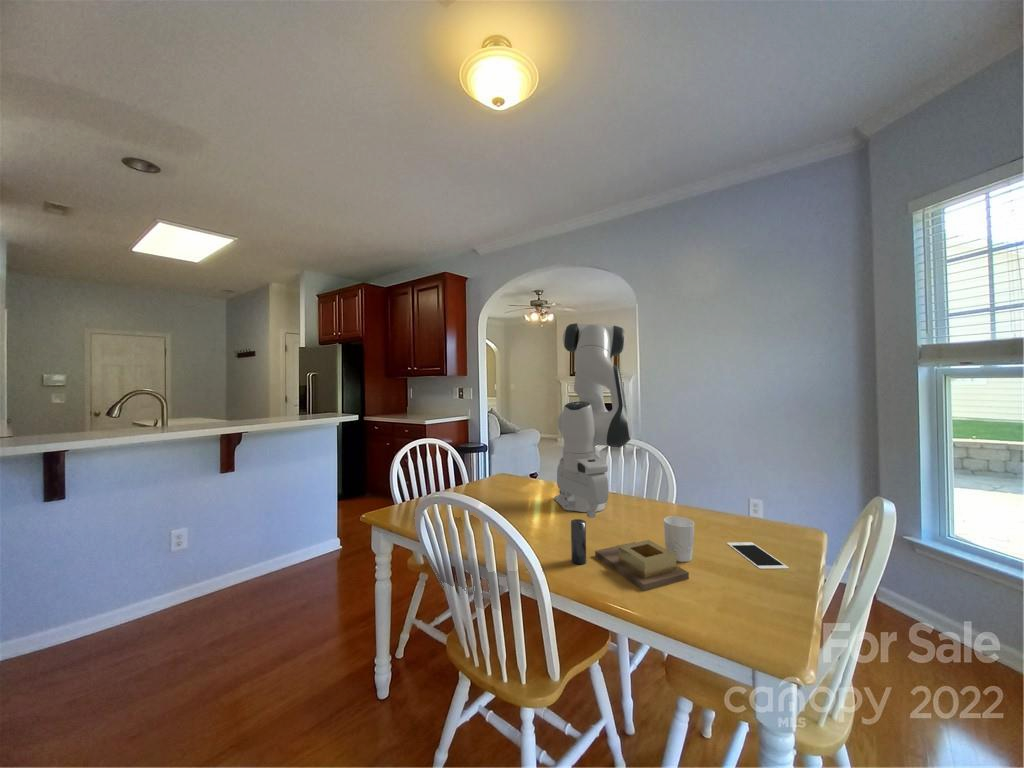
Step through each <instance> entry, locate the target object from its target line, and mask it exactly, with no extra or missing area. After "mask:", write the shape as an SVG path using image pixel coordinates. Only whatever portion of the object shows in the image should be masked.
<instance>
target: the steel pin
mask: <svg viewBox="0 0 1024 768" xmlns="http://www.w3.org/2000/svg"><path fill="white" fill-rule="evenodd" d="M570 542H571V543H570V544H571V546H570V547H571V548H570V549H571V553H570V554H571V556H570V557H571V558H570V559H571V563H572V564H574V565H575V566H576V565H577V566H583V565H586V564H587V522H586V520H584V519H572V520H570Z"/></svg>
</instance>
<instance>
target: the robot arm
mask: <svg viewBox="0 0 1024 768" xmlns="http://www.w3.org/2000/svg"><path fill="white" fill-rule="evenodd" d="M626 343H627V336H626V333H625V329H624V328H622V327H621V326H618V325H609V324H602V323H578V322H576V323H575V322H574V323H569V324H568V325H567V326H566V328H565V329H564V332H563V333H562V344H563V345H564V346H563V347H564V349H565V350H566V351H567V352H570V353H573V354H574V353H575V358H574V363H575V364H574V367H575V374H574V382H573V391H574V393H575V394H576V395H577V396H578V398H579V401H572V402H568V403H567V404H565V405H564V406H563V410H562V411H561V413H560V414H559V415H558V416H557V417H558V418H557V428H558V431H559V432H560V433H561V436H562V439H563V446H562V457H561V458H560V459H559V462H558V463H559V464H558V465H557V469H556V470H557V471H556V485H557V488H558V489H559V494H558V495H555V496H554V497H553V500H554V499H555V500H556V501H557V502H558V503H559V504H560V505H561V506H562V508H563V510H565V511H573V512H579V513H580V512H581V513H586V517H587V518H590V519H593V518H594V519H595V518H596V513H597V512H600V511H604V510H605V507H606V505H608V504H607V502H608V500H609V480H608V476H607V474H606V473H607V472H608V471H609V470H608V464H607V463H606V462H605V461H603V460H602V459H601V457H600V455H601V454H600V453H601V452H600V450H599V448H598V447H596V446H607V447H612V448H613V447H614V448H622V447H624V446H625V445H627V443H629V442H630V440H631V438H632V434H633V430H632V429H633V428H632V424H631V420H630V418H629V415H628V408H627V403H626V398H625V397H626V396H625V391H624V385H623V380H622V374H621V371H620V369H619V367H618V366H617V365H615V364H613V362H612V360H611V359H612V358H613V357H615V356H618V355H620V354H621V353H622V352H623V350H624V349H625V346H626ZM604 387H605V388H607V389H608V390H609V394H610V398H611V399H610V401H611V406H612V409H611V410H608V409H607V408H606V406H605V404H606V403H605V401H604ZM555 500H554V501H555ZM556 501H555V502H556ZM558 503H557V504H558ZM559 504H558V505H559ZM560 505H559V506H560ZM561 506H560V507H561Z"/></svg>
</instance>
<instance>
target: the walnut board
mask: <svg viewBox="0 0 1024 768" xmlns="http://www.w3.org/2000/svg"><path fill="white" fill-rule="evenodd" d="M632 543H637V541H636V542H635V541H633V542H628V543H624V544H620V545H619V544H618V545H616V546H611V547H606V548H601V549H597V550H595V551H594V556H595V557H596V558H597V559H599V560H600V561H602V562H603V563H604V564H606V565H607V566H608V567H610V568H612V569H613V570H614V571H616V572H617V573H619V574H620V575H621V576H623V577H624V578H625V579H627V580H628V581H629V582H631V583H632V584H634V585H635V586H636V587H638V588H639V589H641V590H642V591H645V592H646V591H648V590H652V589H655V588H659V587H663V586H666V585H670V584H674V583H677V582H681V581H684V580H685V581H686V580H689V579H690V573H689V571H687V570H685V569H684V568H682V567H680V566H678V565H676V571H673V572H669V573H665V574H661V575H658V576H654V577H650V578H646V579H644V578H643V577H641V576H640V575H638V574H637V573H635V572H634V571H632V570H631V569H629V568H628V567H626V566H625V565H624V564H622V563H621V562H619V546H623V545H627V544H632Z"/></svg>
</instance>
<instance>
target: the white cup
mask: <svg viewBox="0 0 1024 768" xmlns="http://www.w3.org/2000/svg"><path fill="white" fill-rule="evenodd" d="M663 530H664V531H663V532H664V545H665V549H666V550H668V551H670V552H672V553H674V554H676V562H680V563H687V562H688V563H689V562H691V561H692V560H693V549H694V539H695V535H694V534H695V521H693V519H690V518H687V517H683V516H676V515H675V516H666V517H665V518H663Z"/></svg>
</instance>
